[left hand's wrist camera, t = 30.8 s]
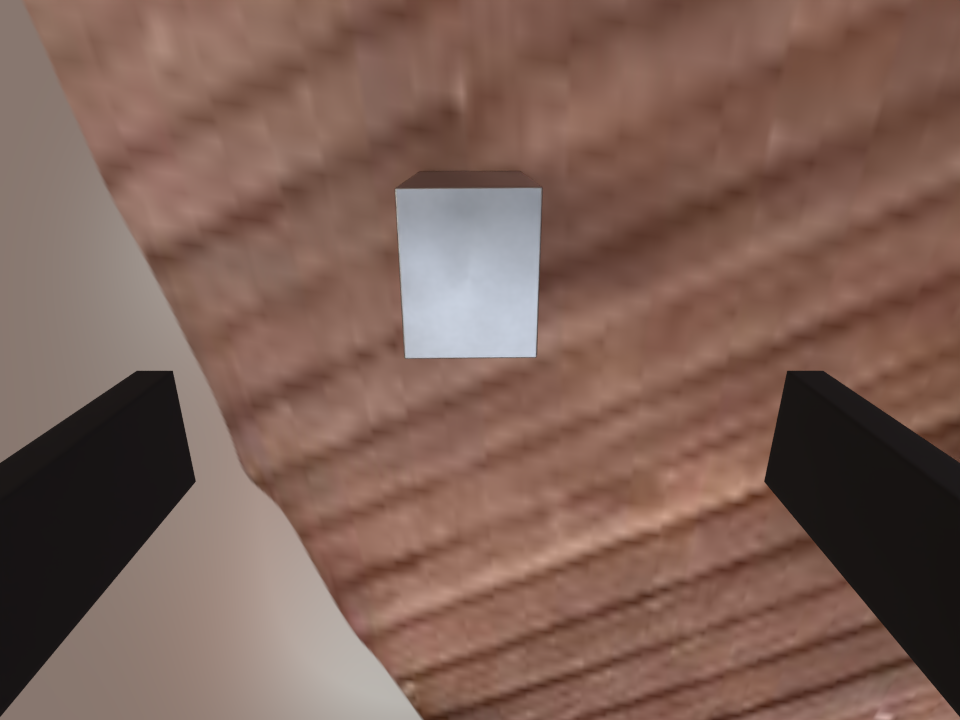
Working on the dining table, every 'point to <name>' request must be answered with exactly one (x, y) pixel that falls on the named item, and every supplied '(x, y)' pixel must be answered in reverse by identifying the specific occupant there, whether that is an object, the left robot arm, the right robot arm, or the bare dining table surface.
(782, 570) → the dining table surface
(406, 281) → the block
